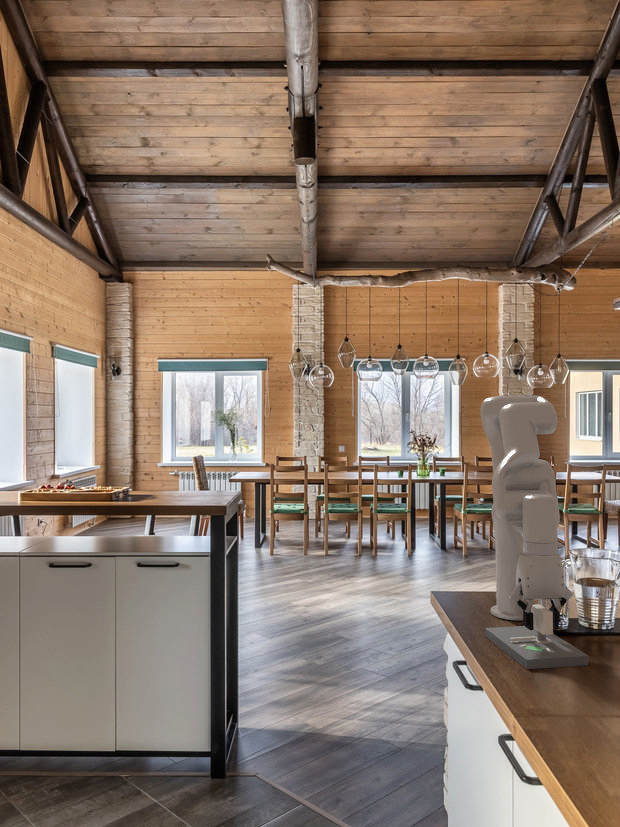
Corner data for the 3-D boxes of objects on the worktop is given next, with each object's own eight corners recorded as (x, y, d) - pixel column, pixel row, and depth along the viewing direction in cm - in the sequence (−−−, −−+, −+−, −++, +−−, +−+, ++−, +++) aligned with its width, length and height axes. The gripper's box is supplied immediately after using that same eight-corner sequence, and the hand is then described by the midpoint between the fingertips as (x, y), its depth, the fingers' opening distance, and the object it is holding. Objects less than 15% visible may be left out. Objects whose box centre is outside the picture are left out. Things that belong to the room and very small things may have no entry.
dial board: (485, 636, 163) (485, 627, 163) (539, 633, 165) (539, 624, 165) (526, 669, 141) (526, 659, 141) (588, 665, 143) (588, 655, 143)
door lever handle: (504, 635, 155) (504, 606, 155) (539, 633, 156) (539, 604, 156) (516, 645, 149) (516, 613, 149) (553, 642, 150) (552, 612, 150)
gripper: (566, 544, 158) (568, 621, 158) (497, 546, 156) (499, 625, 156) (583, 550, 151) (585, 630, 150) (511, 553, 148) (513, 635, 148)
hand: (541, 627), depth 153 cm, fingers open, 5 cm apart
